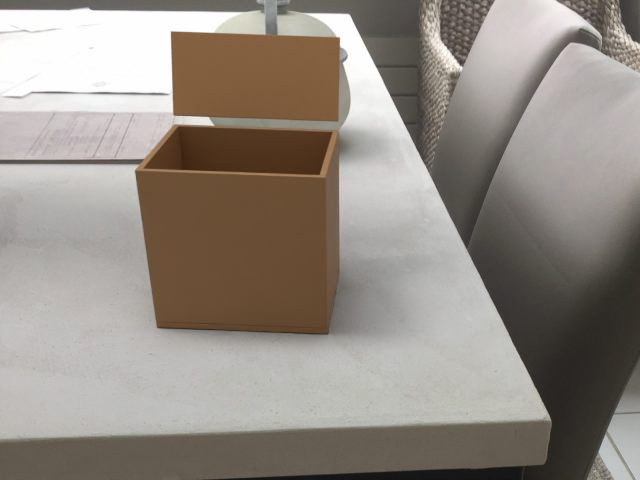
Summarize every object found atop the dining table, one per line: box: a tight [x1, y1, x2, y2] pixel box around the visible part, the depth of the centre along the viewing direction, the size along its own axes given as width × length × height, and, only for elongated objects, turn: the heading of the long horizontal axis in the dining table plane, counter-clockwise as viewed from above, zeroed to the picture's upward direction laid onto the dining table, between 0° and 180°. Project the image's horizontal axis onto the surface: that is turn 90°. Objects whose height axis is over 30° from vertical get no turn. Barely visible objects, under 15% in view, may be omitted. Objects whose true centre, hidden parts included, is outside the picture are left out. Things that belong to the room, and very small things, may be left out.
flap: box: [170, 30, 341, 122], centre depth 74 cm, size 14×6×1 cm
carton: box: [134, 123, 341, 335], centre depth 74 cm, size 14×13×12 cm
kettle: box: [208, 0, 352, 130], centre depth 107 cm, size 25×18×25 cm
